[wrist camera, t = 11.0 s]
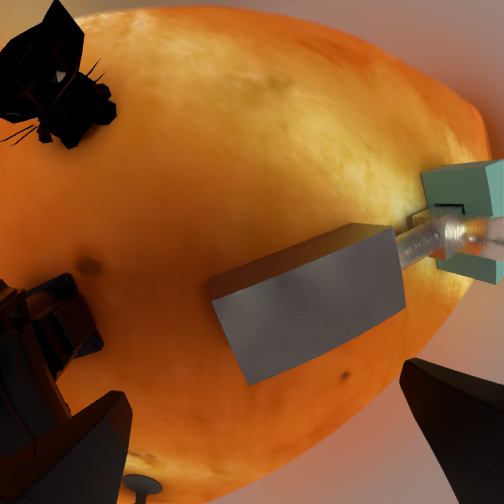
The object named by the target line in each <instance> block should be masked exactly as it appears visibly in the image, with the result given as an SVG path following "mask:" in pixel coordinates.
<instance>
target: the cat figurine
mask: <svg viewBox="0 0 504 504" xmlns="http://www.w3.org/2000/svg"><path fill="white" fill-rule="evenodd" d="M84 35H85V34H84V33H83V31H82V30H81V29H80V27H79V26H78V25H77V23H76V22H75V21H74V19H73V18H72V17H71V16H70V14H69V13H68V12H67V10H66V9H65V8H64V6H63V5H62V4H61V2H60V1H59V0H54V1H53V3H52V4H51V6H50V8H49V10H48V11H47V13H46V15H45V17H44V19H43V21H42V23H40V24H38V25H36V26H34V27H32V28H30V29H28V30H27V31H25V32H23V33H21V34H20V35H18V36H16V37H14V38H13V39H11V40H10V41H9V42H8V43H7V44H6V46H5V47H4V48H3V49H2V50H1V52H0V118H2V119H5V120H7V121H9V122H11V123H13V124H15V123H19V122H23V121H26V120H29V119H33V118H36V117H38V119H39V120H38V121H39V122H40V124H39V126H38V129H37V131H36V132H37V133H38V134H39V141H41V142H42V143H43V144H44V143H50V142H53V140H52V137H51V134H50V132H51V133H52V134H53V135H54V136H56V137H58V138H60V139H61V142H62V143H63V144H64V145H65V146H66V148H67V149H71V148H74V147H77V146H78V144H79V142H80V140H81V137H82V135H83V134H85V133H86V132H87V131H88V129H89V128H90V127H91V126H92V125H93V124H94V122H95V123H96V125H109V124H110V123H111V122H112V121H113V120H114V119H115V118H116V117H117V115H116V104H115V103H113V102H111V101H109V100H108V99H109V98H110V97H111V92H110V90H109V88H108V87H107V86H106V85H105V84H103V83H102V84H96V82H97V81H98V80H99V79H100V78H101V77H102V76H103V75H102V76H100V77H99V78H98V79H97V80H96V81H93V80H91V79H90V78H88V77H87V76H88V75H89V74H90V73H91V72H92V71H93V69H94V67H95V66H96V64H97V63H98V62H99V61H98V62H97V63H96V64H95V66H94V67H93V68H92V69H91V71H90V72H89V73H88V74H87V75H86V76H85V75H84V74H83V73H81V72H79V66H80V61H81V57H82V51H83V43H84ZM100 59H101V58H100ZM32 126H34V124H33V125H31V126H29V127H27V128H25V129H23V130H22V131H20V132H18V133H16V134H14V135H12V136H11V137H13V136H15V135H17V134H19V133H21V132H23V131H24V130H26V129H28V128H30V127H32ZM35 128H37V126H36V127H35ZM35 128H33V129H32V130H31V131H30V132H32V131H33V130H34V129H35ZM30 132H28V133H27V134H26V135H25V136H27V135H28V134H29V133H30ZM25 136H23V137H22V138H21V139H20V140H22V139H23V138H24V137H25ZM11 137H9V138H7V139H5V140H2V141H6V140H8V139H10V138H11ZM20 140H18V141H17V142H16V143H15V144H17V143H18V142H19V141H20ZM2 141H0V142H2ZM15 144H13V145H15ZM11 146H12V145H11Z"/></svg>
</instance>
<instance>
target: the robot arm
mask: <svg viewBox="0 0 504 504" xmlns="http://www.w3.org/2000/svg"><path fill="white" fill-rule="evenodd" d="M65 277H66V278H67V279H68V282H66V281H65ZM95 326H96V325H95V323H94V321H93V319H92V317H91V315H90V313H89V311H88V308H87V306H86V304H85V302H84V300H83V298H82V297H81V296H80V294H79V292H78V290H77V287H76V285H75V282H74V280H73V278H72V276H71V274H69V273H64V274H62V275H60V276H58V277H56V278H54V279H52V280H49V281H47V282H45V283H43V284H41V285H39V286H37V287H35V288H33V289H31V290H29V291H27V292H25V289H24V288H23V289H16V288H10V287H8V286H7V284H6V283H5V282H4V281H3V280H2V279H0V504H117V499H118V494H119V489H120V484H121V480H122V475H123V471H124V467H125V463H126V458H127V454H128V447H129V438H130V431H131V423H132V416H133V413H132V409H131V406H130V404H129V402H128V400H127V397H126V395H125V393H124V392H122V391H115V390H112V391H110V392H108V393H107V394H105V395H104V396H102V397H101V398H99V399H98V400H96V401H95V402H94V403H92V404H91V405H89V406H88V407H86V408H85V409H83V410H82V411H80V412H79V413H77V414H76V415H74V416H73V417H72V415H71V410H70V408H69V406H68V404H67V403H65V401H64V399H63V397H62V395H61V393H60V391H59V389H58V387H57V385H56V381H57V380H58V379H59V377H60V376H61V374H62V373H63V372H64V370H65V369H66V368H67V366H68V365H69V364H70V362H71V361H72V360H73V359H75V358H78V357H81V356H85V355H88V354H91V353H94V352H98V351H100V350H102V348H103V346H104V343H103V341H102V339H101V337H100V335H99V334H98V332H97V330H96V328H95ZM95 343H98V344H99V346H97V345H96V344H95ZM399 383H400V386H401V389H402V391H403V393H404V396H405V398H406V400H407V402H408V405H409V407H410V409H411V412H412V414H413V416H414V418H415V420H416V421H417V424H418V426H419V427H420V429H421V431H422V432H423V434H424V436H425V438H426V440H427V442H428V443H429V445H430V447H431V449H432V451H433V452H434V454H435V456H436V458H437V460H438V462H439V464H440V466H441V468H442V470H443V471H444V474H445V476H446V478H447V479H448V481H449V484H450V485H451V487H452V490H453V491H454V494H455V496H456V498H457V500H458V502H459V504H504V385H502V384H497V383H495V382H492V381H488V380H485V379H481V378H478V377H475V376H471V375H468V374H465V373H462V372H458V371H455V370H452V369H449V368H446V367H443V366H440V365H437V364H434V363H431V362H428V361H425V360H422V359H419V358H411V359H408V360H406V361H405V362H404V364H403V368H402V371H401V375H400V380H399Z"/></svg>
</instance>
